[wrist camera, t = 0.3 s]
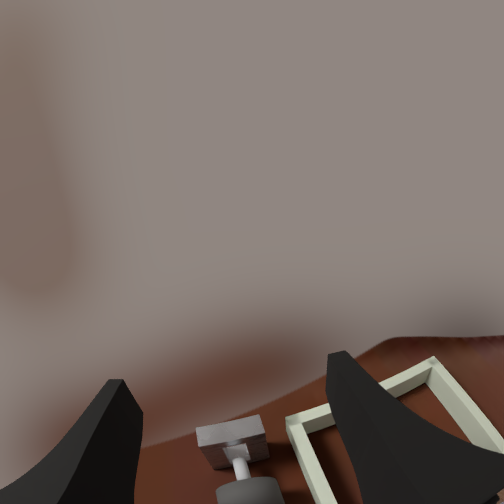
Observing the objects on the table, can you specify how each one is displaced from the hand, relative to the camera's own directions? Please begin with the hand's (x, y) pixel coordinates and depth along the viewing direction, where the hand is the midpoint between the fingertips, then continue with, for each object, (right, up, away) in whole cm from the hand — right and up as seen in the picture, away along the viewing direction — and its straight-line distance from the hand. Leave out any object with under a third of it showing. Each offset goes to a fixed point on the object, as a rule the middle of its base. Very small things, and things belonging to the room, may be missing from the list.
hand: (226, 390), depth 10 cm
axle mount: (0, -15, +15) cm, 21 cm away
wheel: (+1, -17, +11) cm, 20 cm away
